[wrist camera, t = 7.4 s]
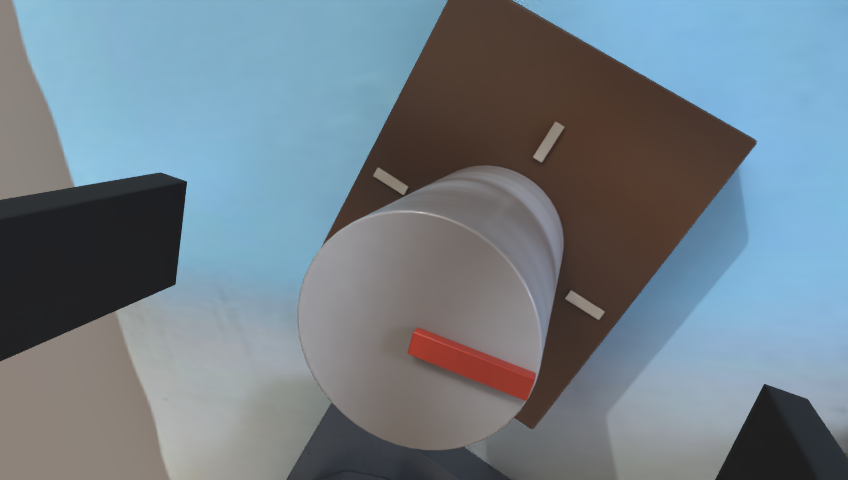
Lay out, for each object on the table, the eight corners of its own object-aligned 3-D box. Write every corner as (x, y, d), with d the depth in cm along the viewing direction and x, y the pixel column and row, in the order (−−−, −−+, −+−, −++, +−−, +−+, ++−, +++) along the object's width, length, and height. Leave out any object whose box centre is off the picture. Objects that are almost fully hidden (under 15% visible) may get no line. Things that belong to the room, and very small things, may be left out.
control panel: (479, -12, 22) (460, -30, 19) (736, 136, 20) (760, 141, 17) (336, 258, 26) (303, 277, 23) (539, 393, 25) (532, 433, 22)
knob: (397, 283, 22) (270, 400, 13) (435, 145, 20) (317, 177, 12) (534, 334, 21) (493, 499, 12) (586, 193, 19) (580, 267, 11)
